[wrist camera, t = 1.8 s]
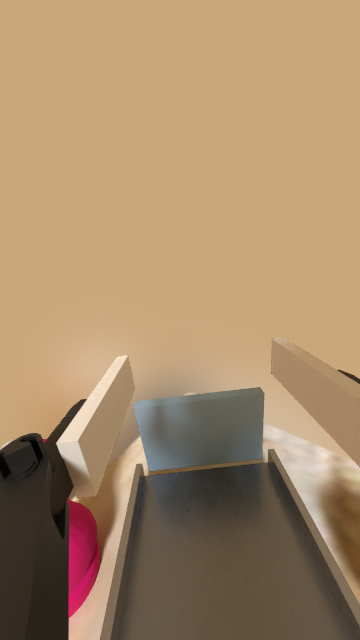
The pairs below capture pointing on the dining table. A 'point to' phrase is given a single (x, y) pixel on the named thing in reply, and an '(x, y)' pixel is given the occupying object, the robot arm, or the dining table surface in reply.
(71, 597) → the pepper mill
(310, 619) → the cart bed
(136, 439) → the dining table surface
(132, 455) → the dining table surface
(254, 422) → the panel
